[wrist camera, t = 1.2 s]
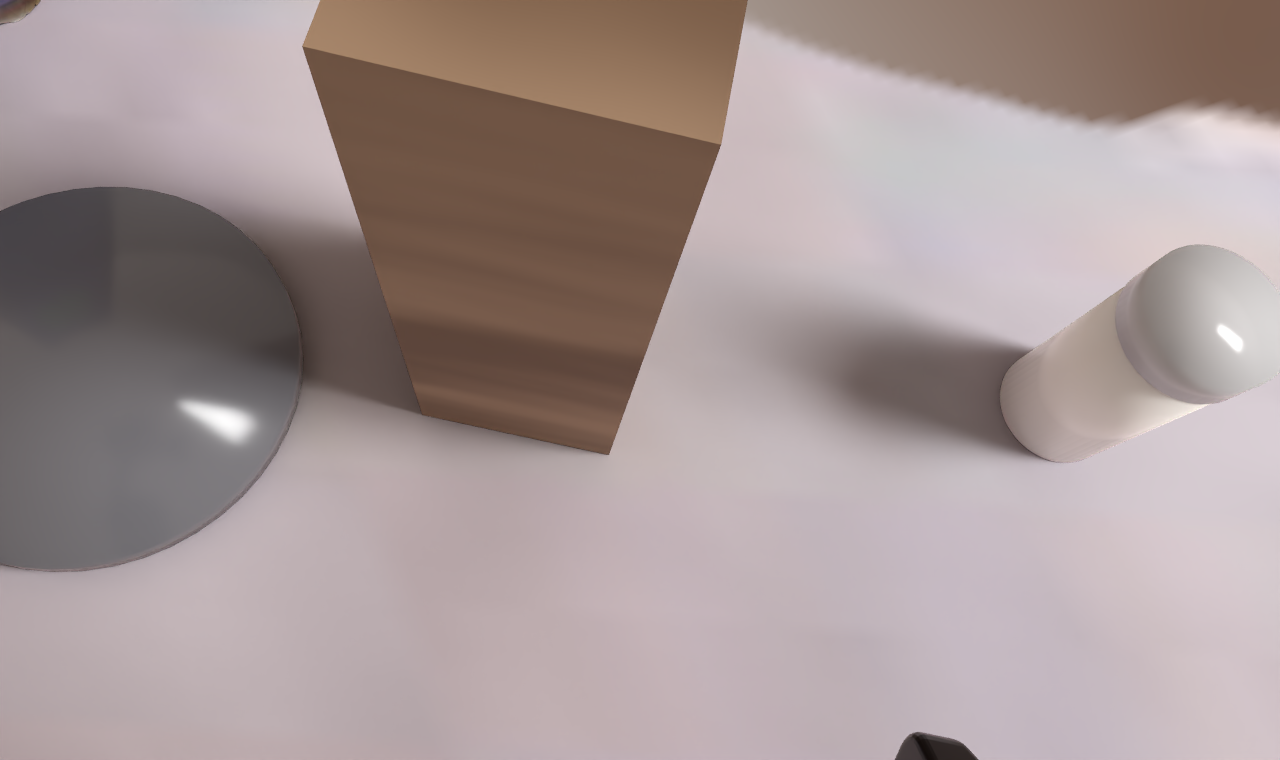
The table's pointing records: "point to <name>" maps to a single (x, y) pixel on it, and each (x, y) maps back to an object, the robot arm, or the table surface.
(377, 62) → the walnut block
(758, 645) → the table surface
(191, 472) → the slate coaster
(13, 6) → the flask
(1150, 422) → the salt shaker
